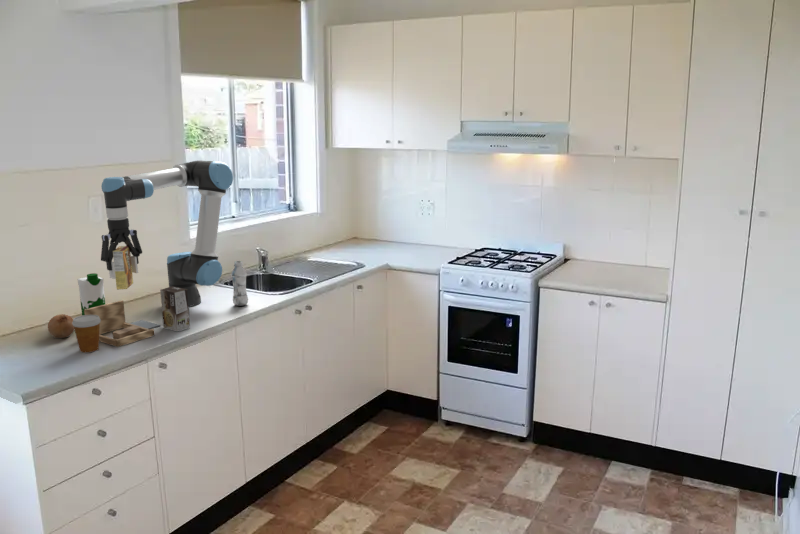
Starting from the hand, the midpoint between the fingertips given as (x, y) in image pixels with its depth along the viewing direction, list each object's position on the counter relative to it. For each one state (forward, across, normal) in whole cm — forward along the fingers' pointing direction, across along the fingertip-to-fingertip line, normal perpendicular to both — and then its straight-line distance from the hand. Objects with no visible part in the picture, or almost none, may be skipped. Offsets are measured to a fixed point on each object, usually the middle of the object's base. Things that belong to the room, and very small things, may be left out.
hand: (124, 275), depth 264 cm
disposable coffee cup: (+22, +22, +7) cm, 32 cm away
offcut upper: (+21, +8, +9) cm, 24 cm away
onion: (+22, +20, -15) cm, 33 cm away
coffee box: (+23, -12, +12) cm, 29 cm away
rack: (+22, +7, +3) cm, 24 cm away
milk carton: (+23, 0, -24) cm, 33 cm away
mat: (+23, -6, -1) cm, 24 cm away
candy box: (+5, 0, 0) cm, 5 cm away
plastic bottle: (+24, -49, +10) cm, 56 cm away
